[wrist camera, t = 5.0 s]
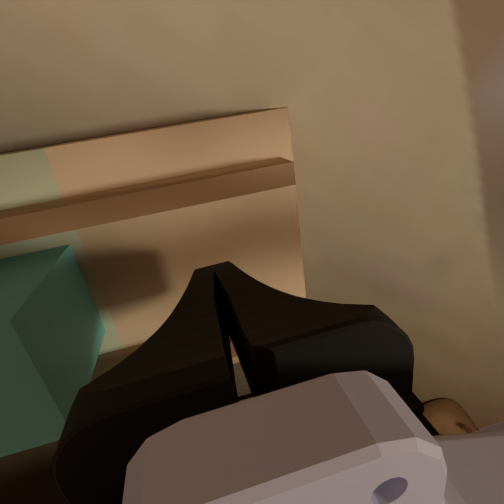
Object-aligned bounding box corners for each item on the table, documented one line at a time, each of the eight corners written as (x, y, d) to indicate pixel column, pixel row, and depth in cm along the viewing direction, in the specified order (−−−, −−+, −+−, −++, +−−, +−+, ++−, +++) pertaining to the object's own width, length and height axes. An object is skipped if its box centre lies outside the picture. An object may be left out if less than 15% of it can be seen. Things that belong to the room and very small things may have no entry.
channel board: (293, 315, 19) (322, 362, 15) (-73, 412, 16) (-143, 498, 12) (269, 108, 14) (303, 106, 11) (-247, 195, 11) (-440, 231, 8)
